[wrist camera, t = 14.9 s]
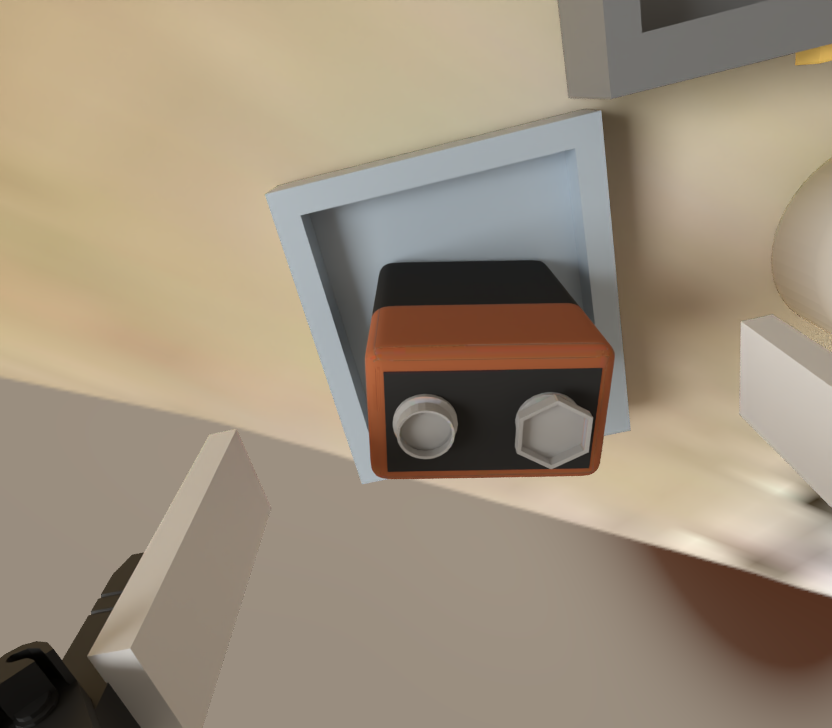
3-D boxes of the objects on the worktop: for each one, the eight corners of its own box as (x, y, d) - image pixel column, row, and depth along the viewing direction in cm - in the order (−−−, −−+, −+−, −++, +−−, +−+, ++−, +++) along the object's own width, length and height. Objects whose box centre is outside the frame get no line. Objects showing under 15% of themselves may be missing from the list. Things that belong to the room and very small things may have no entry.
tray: (277, 185, 23) (264, 194, 21) (583, 108, 22) (601, 110, 20) (365, 456, 28) (361, 484, 26) (614, 405, 27) (630, 430, 25)
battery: (539, 355, 25) (611, 501, 16) (383, 358, 25) (368, 505, 16) (547, 256, 23) (634, 359, 14) (379, 259, 23) (359, 364, 14)
